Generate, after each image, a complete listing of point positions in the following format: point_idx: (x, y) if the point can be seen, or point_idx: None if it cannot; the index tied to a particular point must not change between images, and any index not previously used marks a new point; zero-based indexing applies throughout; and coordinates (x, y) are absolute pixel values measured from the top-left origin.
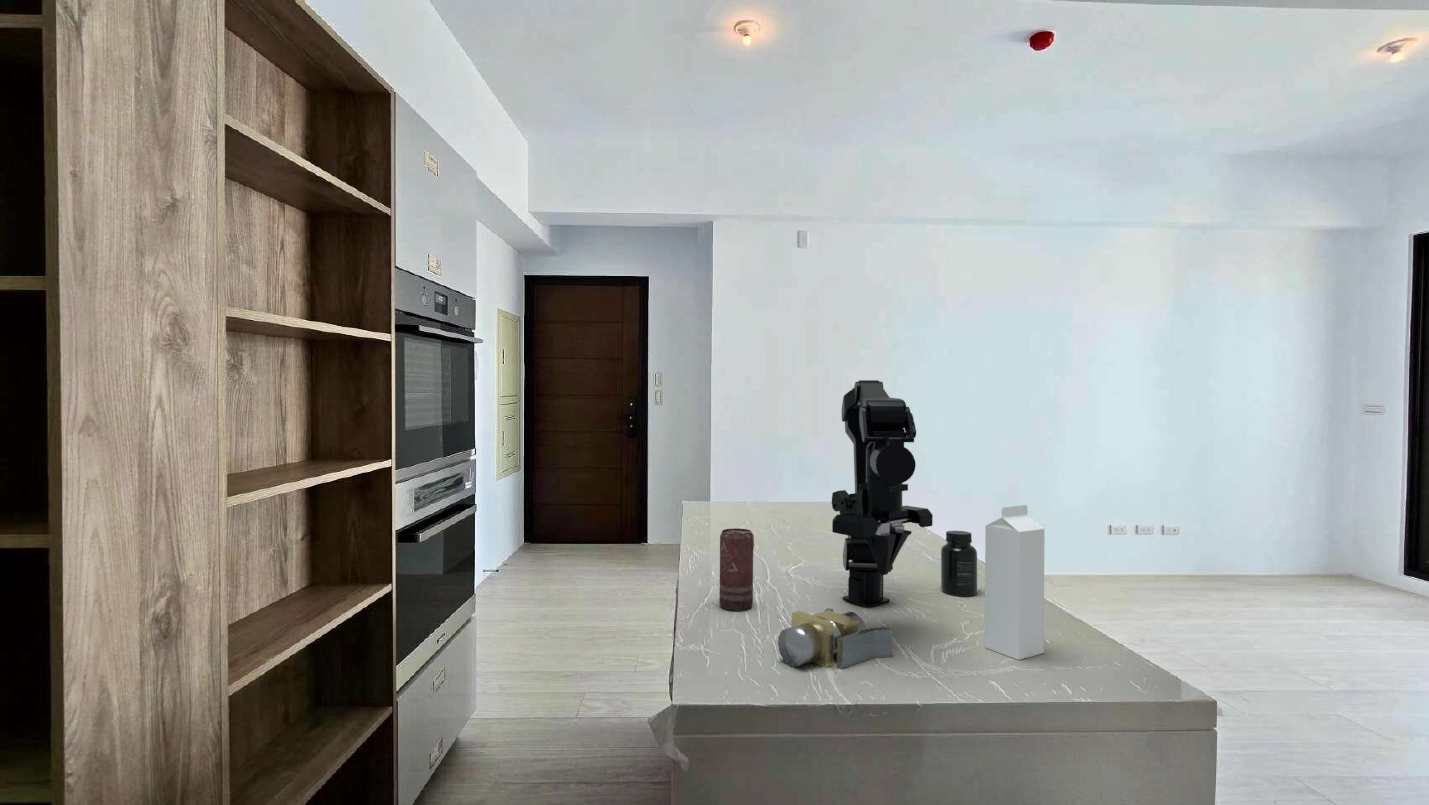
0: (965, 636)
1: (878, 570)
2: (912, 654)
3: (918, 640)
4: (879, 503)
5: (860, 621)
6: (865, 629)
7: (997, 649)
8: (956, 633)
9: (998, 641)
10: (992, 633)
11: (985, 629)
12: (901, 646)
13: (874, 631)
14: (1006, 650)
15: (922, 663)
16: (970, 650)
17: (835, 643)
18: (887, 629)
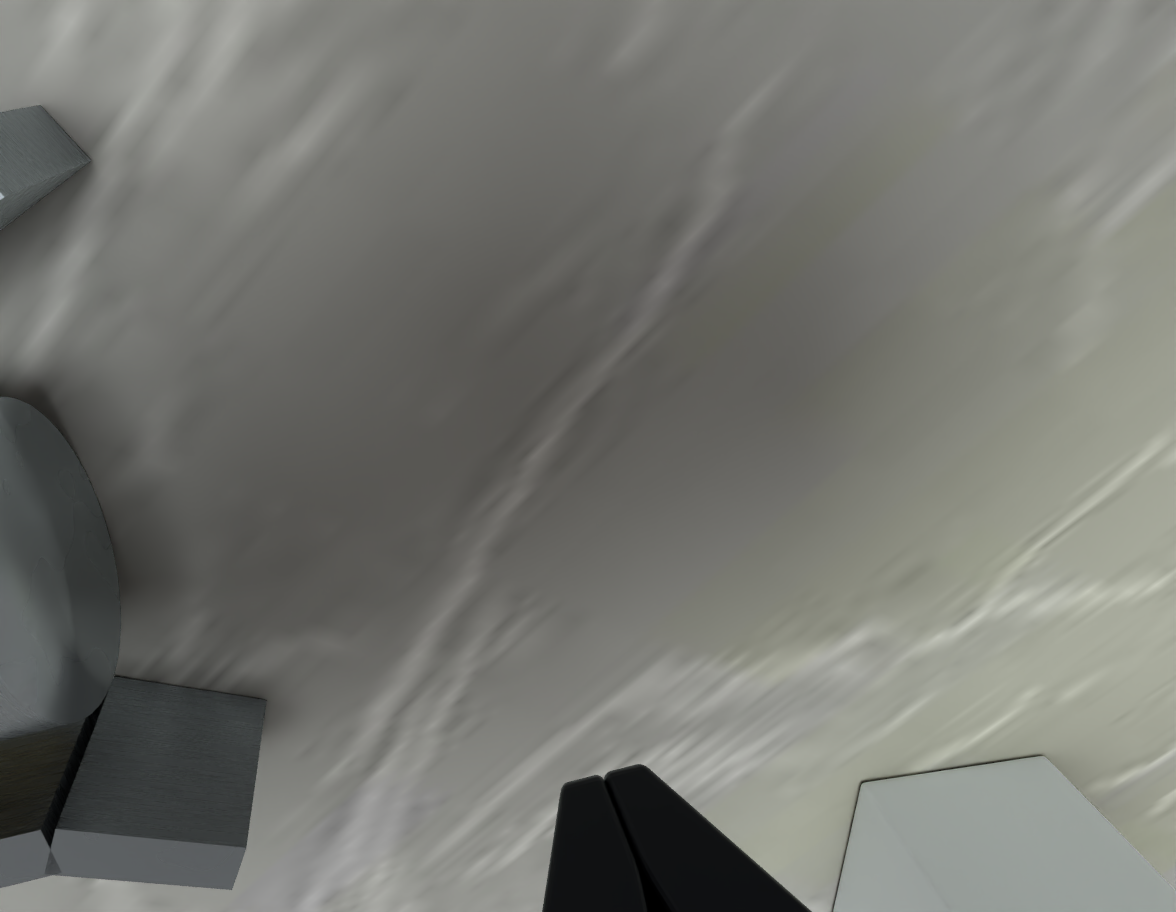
0: (946, 626)
1: (559, 818)
2: (416, 741)
3: (649, 577)
4: None
5: (28, 731)
6: (93, 705)
7: (854, 856)
8: (955, 570)
9: (875, 900)
10: (902, 897)
11: (916, 868)
12: (457, 619)
13: (61, 868)
14: (850, 907)
15: (363, 852)
16: (765, 786)
17: None
18: (193, 880)
